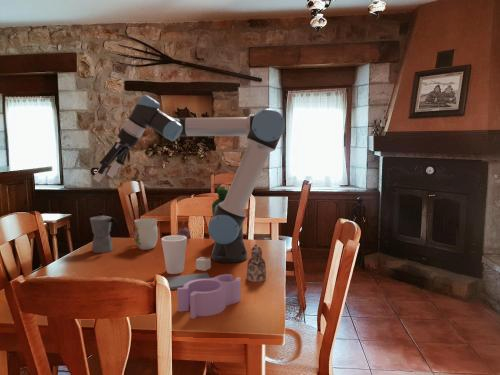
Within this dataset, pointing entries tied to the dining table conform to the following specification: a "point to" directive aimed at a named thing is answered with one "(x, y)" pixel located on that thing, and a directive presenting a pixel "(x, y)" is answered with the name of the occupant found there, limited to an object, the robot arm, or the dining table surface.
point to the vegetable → (184, 231)
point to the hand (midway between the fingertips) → (103, 178)
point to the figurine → (256, 266)
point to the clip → (209, 295)
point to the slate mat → (185, 279)
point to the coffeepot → (102, 233)
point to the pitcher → (146, 233)
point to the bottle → (221, 195)
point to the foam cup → (174, 253)
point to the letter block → (203, 263)
